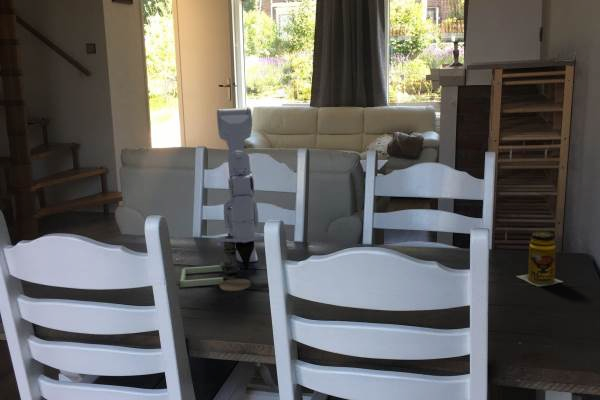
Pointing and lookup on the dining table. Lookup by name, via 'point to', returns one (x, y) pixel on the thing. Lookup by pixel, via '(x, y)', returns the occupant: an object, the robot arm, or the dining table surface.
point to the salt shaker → (230, 261)
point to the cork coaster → (235, 284)
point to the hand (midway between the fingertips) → (246, 269)
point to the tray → (200, 281)
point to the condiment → (541, 260)
